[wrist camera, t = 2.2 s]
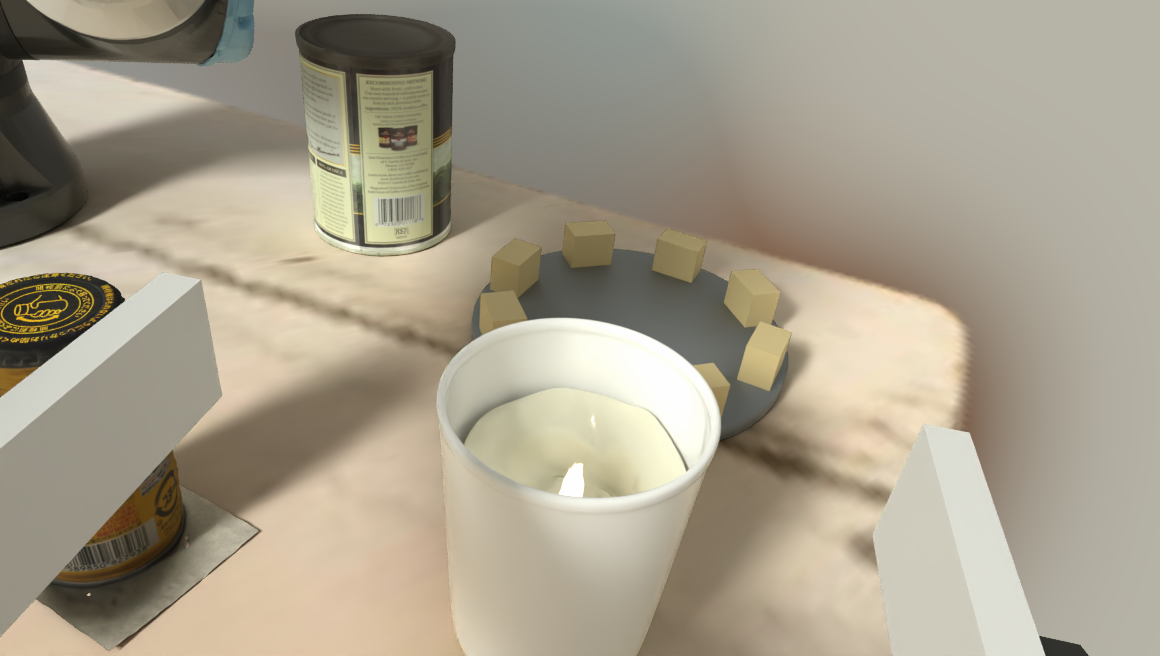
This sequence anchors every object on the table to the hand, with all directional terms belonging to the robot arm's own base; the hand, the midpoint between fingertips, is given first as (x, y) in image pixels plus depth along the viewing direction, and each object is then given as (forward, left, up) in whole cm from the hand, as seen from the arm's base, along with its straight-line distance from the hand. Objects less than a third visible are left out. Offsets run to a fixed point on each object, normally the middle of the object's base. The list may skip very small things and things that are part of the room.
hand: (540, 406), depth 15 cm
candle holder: (-9, +5, -20) cm, 23 cm away
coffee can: (-45, +3, -20) cm, 49 cm away
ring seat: (-27, +16, -20) cm, 37 cm away
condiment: (-17, -12, -20) cm, 29 cm away
